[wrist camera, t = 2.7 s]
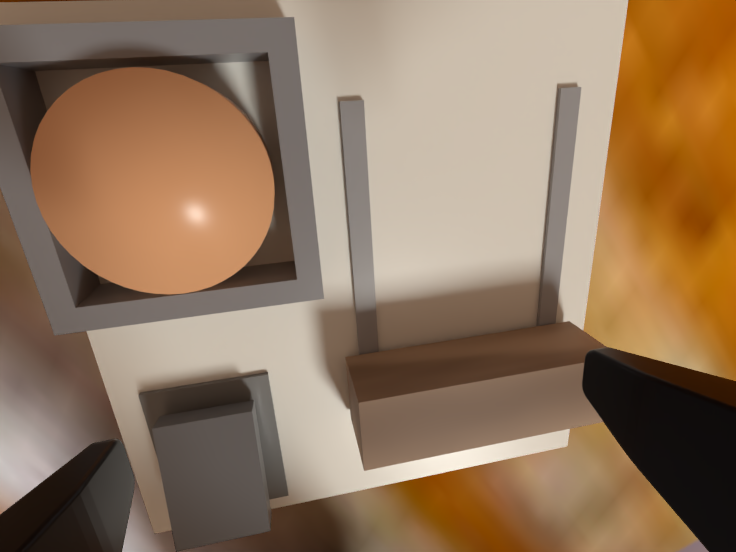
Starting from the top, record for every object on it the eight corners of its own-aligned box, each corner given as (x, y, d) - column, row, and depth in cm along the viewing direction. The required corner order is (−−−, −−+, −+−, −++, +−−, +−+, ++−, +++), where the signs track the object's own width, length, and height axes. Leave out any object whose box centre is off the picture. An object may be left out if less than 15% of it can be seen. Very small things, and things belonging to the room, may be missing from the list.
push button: (285, 260, 15) (287, 280, 13) (99, 282, 14) (72, 307, 12) (259, 69, 13) (256, 61, 11) (36, 79, 12) (-8, 73, 10)
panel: (544, 420, 24) (593, 476, 20) (165, 496, 21) (141, 579, 17) (590, 4, 17) (680, -28, 13) (17, 18, 13) (-81, -19, 10)
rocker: (271, 513, 18) (270, 530, 17) (182, 532, 17) (175, 551, 16) (254, 400, 17) (252, 411, 16) (159, 416, 16) (152, 428, 15)
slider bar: (562, 378, 20) (608, 420, 17) (350, 417, 18) (364, 470, 16) (569, 321, 19) (619, 356, 16) (345, 356, 17) (358, 403, 14)
